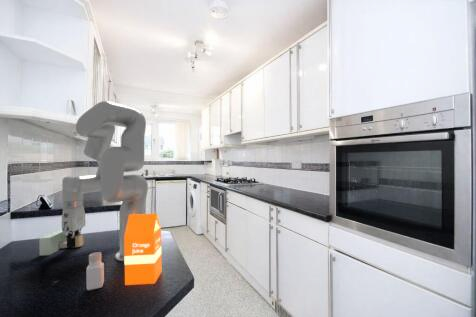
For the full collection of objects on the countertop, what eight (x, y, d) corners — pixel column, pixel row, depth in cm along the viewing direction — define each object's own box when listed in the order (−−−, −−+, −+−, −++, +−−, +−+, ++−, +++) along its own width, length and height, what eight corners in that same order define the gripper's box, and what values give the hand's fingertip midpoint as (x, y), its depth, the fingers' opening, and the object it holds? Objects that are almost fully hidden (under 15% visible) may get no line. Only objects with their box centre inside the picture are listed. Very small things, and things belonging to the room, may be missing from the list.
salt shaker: (86, 291, 65) (85, 257, 65) (88, 284, 68) (88, 252, 69) (102, 288, 66) (101, 255, 67) (104, 281, 70) (103, 250, 70)
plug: (84, 243, 104) (83, 234, 104) (79, 247, 100) (78, 236, 100) (51, 247, 102) (50, 237, 102) (44, 250, 98) (43, 240, 98)
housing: (74, 241, 109) (73, 226, 109) (50, 254, 93) (50, 237, 93) (65, 242, 108) (64, 227, 109) (39, 255, 93) (39, 238, 93)
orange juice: (134, 272, 75) (133, 212, 76) (162, 271, 76) (160, 210, 76) (124, 285, 68) (123, 217, 68) (154, 283, 68) (153, 216, 69)
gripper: (70, 207, 94) (71, 252, 94) (91, 200, 110) (92, 239, 110) (51, 207, 93) (51, 253, 93) (75, 201, 109) (75, 240, 109)
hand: (73, 245), depth 101 cm, fingers closed on plug, 2 cm apart
